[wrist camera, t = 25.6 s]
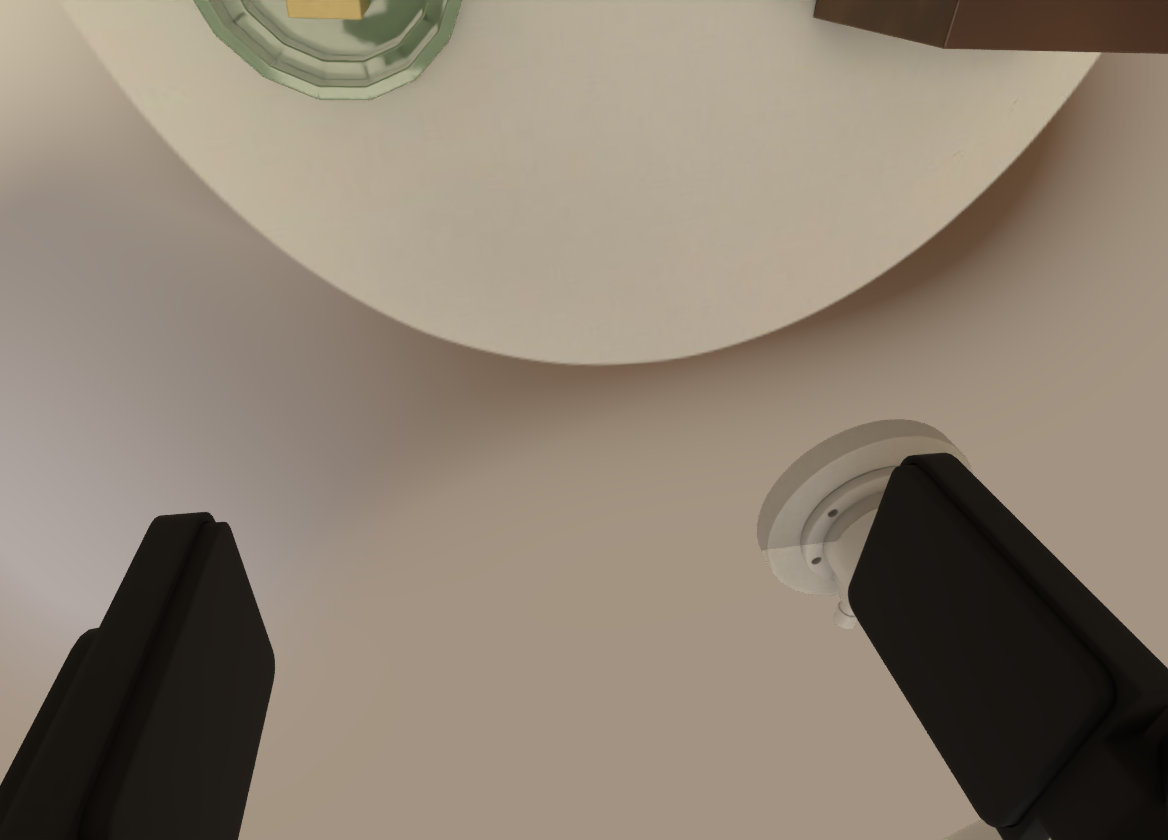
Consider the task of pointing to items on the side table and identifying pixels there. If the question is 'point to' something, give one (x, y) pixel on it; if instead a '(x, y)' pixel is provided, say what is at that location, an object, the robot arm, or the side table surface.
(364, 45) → the dish
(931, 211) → the side table surface
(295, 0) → the butter slice
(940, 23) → the chopping block
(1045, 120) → the side table surface
